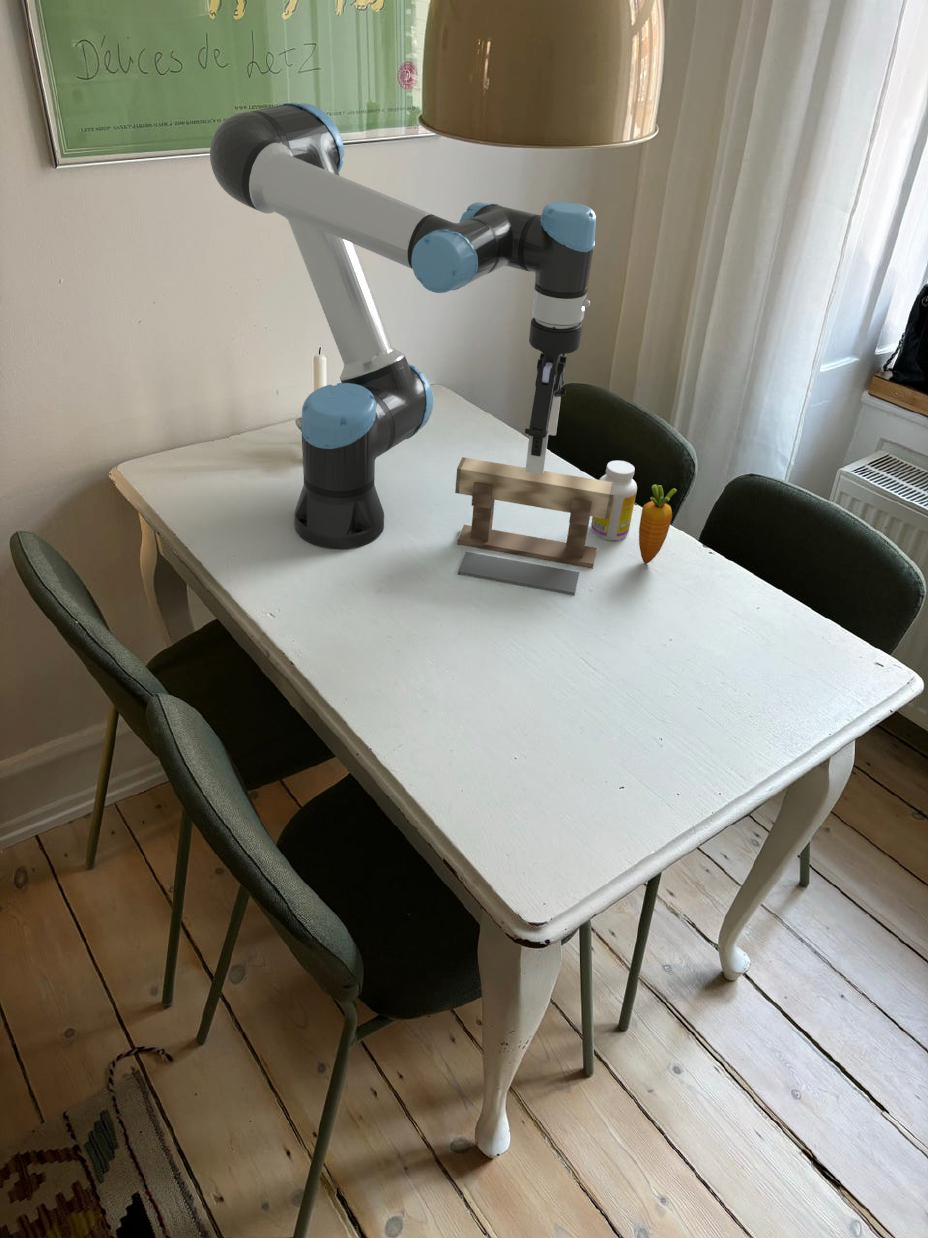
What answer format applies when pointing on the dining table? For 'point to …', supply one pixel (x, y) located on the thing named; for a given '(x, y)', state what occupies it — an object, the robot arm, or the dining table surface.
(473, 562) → the mat
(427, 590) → the dining table surface
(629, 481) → the supplement bottle
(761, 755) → the dining table surface
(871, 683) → the dining table surface
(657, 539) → the carrot
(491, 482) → the rail
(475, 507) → the rack
